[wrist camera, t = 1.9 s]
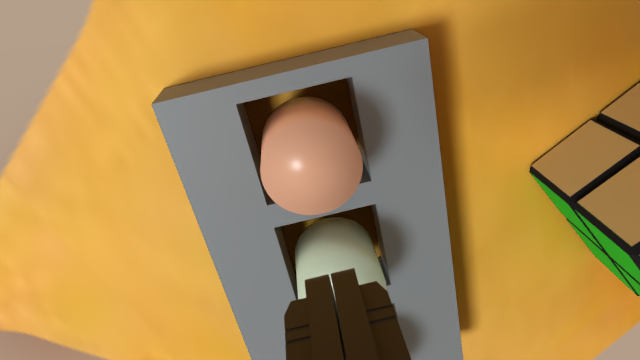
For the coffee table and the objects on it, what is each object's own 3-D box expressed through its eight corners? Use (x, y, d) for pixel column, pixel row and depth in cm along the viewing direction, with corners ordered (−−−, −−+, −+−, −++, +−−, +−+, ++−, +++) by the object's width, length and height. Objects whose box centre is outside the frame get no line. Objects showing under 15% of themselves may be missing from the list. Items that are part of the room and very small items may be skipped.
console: (411, 29, 26) (427, 37, 23) (449, 334, 36) (463, 364, 33) (163, 88, 26) (151, 104, 23) (271, 375, 36) (271, 409, 33)
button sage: (365, 209, 28) (379, 246, 24) (378, 272, 30) (392, 316, 26) (286, 227, 28) (288, 268, 24) (304, 290, 30) (309, 335, 26)
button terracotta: (340, 87, 24) (352, 110, 21) (357, 168, 27) (370, 202, 23) (251, 108, 25) (247, 135, 21) (274, 188, 27) (275, 224, 23)
